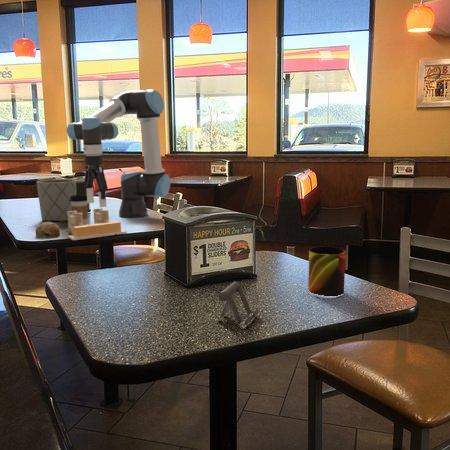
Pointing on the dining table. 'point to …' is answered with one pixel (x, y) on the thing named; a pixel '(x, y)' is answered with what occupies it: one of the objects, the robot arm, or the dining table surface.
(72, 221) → the post
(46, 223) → the bread roll
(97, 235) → the board
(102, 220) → the post
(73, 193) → the planter
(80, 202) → the coffee cup
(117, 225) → the rail
